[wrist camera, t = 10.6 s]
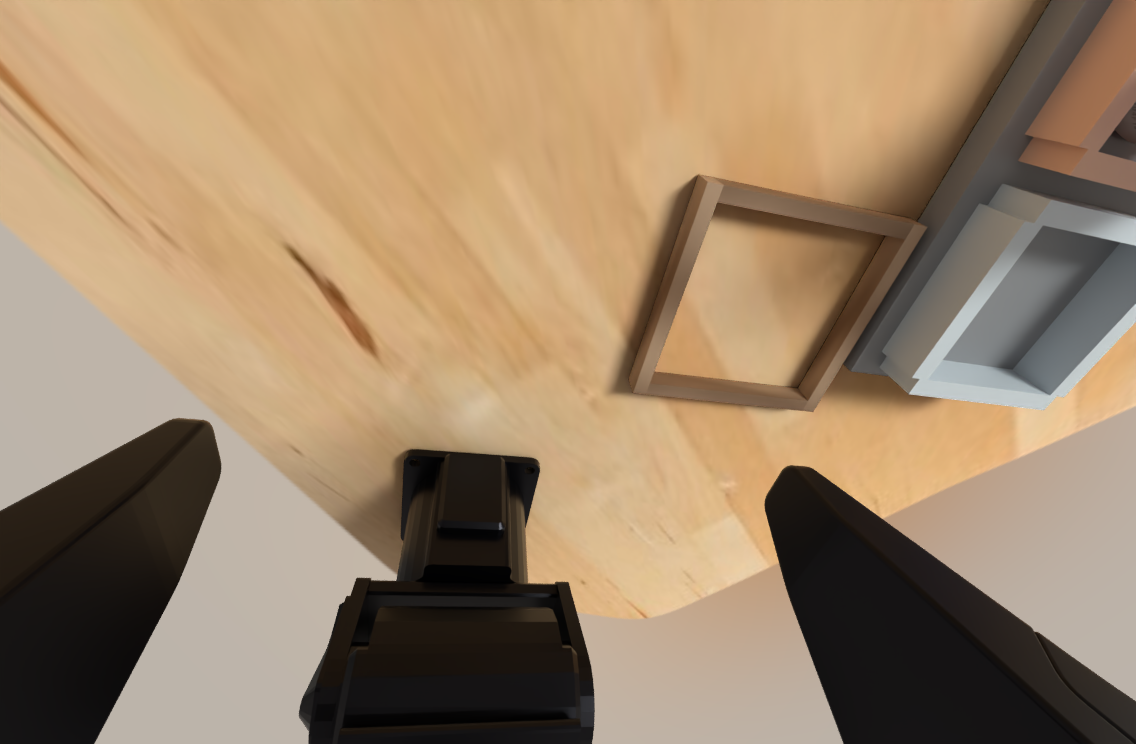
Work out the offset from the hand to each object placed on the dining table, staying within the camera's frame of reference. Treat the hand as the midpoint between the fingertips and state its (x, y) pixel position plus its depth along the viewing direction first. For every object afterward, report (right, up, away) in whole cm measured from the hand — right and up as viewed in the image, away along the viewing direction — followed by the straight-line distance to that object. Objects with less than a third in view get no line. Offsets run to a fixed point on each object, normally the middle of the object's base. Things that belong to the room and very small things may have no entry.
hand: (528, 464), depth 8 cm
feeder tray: (+9, +4, +14) cm, 17 cm away
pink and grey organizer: (+20, +9, +12) cm, 25 cm away
